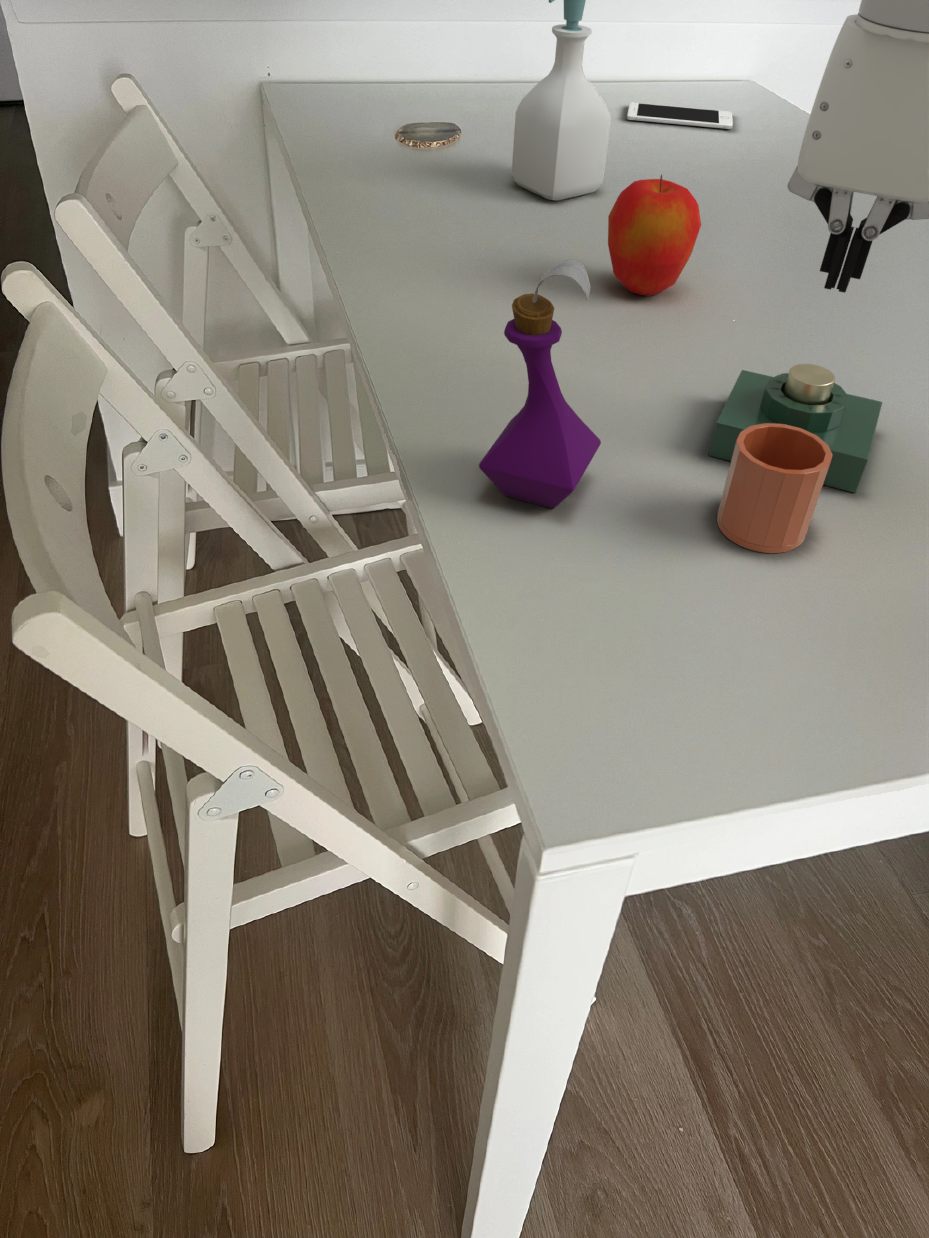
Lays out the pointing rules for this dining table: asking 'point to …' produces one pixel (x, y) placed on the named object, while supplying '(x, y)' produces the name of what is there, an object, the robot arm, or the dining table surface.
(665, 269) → the apple
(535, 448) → the perfume bottle
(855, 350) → the dining table surface
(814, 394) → the metal button cap
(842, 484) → the push button base
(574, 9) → the soap bottle
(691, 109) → the cell phone
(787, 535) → the cup
